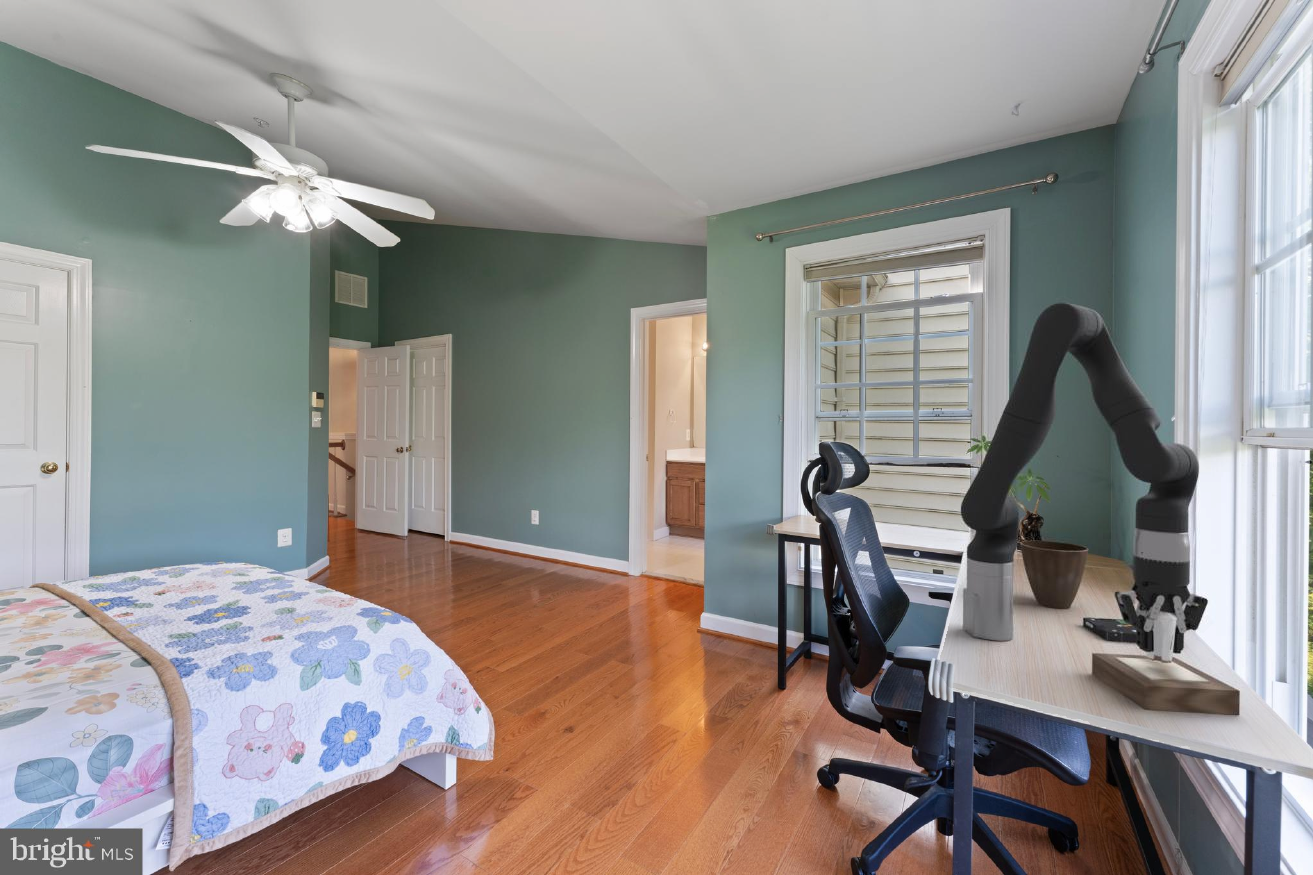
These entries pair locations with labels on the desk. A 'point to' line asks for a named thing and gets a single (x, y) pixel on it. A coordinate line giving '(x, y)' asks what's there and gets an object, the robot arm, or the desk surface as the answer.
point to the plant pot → (1054, 571)
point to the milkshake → (1163, 638)
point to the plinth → (1165, 684)
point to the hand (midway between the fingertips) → (1159, 650)
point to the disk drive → (1111, 629)
